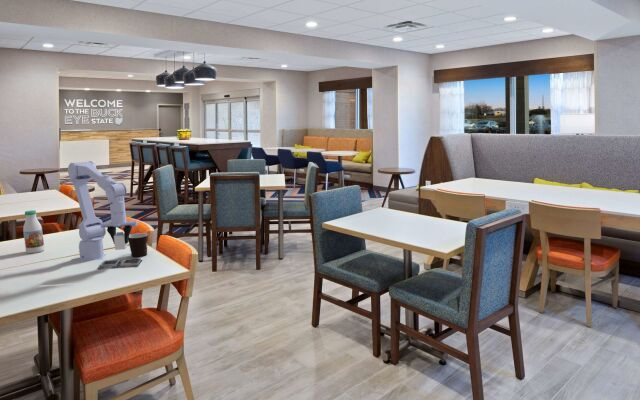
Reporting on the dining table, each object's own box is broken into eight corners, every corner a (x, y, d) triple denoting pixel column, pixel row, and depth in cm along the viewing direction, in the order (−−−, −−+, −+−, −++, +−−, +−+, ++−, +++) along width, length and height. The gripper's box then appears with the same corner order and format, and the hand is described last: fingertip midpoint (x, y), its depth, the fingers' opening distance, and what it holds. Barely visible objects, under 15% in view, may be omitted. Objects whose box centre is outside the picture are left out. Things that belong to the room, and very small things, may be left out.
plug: (115, 249, 195) (113, 233, 194) (117, 247, 199) (116, 231, 198) (125, 249, 196) (123, 233, 194) (127, 246, 200) (126, 230, 198)
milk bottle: (22, 252, 222) (16, 212, 218) (37, 248, 229) (32, 209, 225) (33, 254, 219) (28, 213, 215) (48, 250, 226) (43, 210, 222)
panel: (97, 270, 193) (97, 266, 193) (104, 263, 203) (104, 259, 202) (137, 268, 195) (137, 264, 195) (142, 261, 205) (142, 257, 205)
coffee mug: (142, 259, 207) (140, 238, 205) (125, 259, 209) (123, 237, 207) (156, 252, 218) (155, 231, 216) (140, 251, 220) (138, 231, 218)
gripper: (96, 214, 190) (100, 246, 192) (133, 213, 192) (136, 244, 194) (102, 211, 197) (105, 242, 199) (137, 209, 199) (140, 240, 201)
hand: (121, 243), depth 197 cm, fingers closed on plug, 4 cm apart
